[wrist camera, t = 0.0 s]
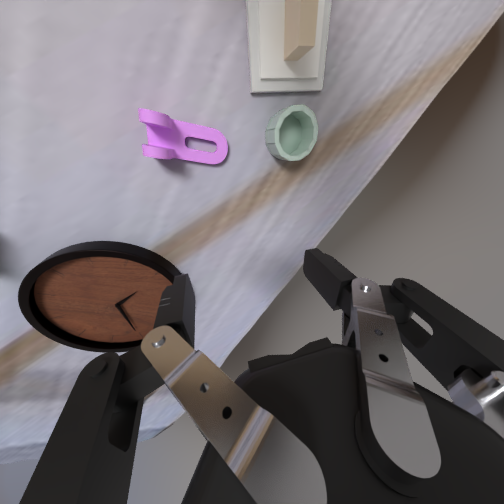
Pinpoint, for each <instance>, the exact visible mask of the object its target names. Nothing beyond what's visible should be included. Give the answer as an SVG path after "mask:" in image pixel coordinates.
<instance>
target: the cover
mask: <svg viewBox="0 0 504 504" xmlns="http://www.w3.org/2000/svg"><path fill="white" fill-rule="evenodd" d="M324 4H325V0H258V25H259V57H260V79H314V78H317V77H318V69H319V58H320V47H321V36H322V26H323V15H324Z"/></svg>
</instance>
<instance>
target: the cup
mask: <svg viewBox="0 0 504 504" xmlns="http://www.w3.org/2000/svg"><path fill="white" fill-rule="evenodd" d="M317 134H318V123H317V120H316V117H315V114H314V112H313V111H312V110H310V109H309V108H308V107H307V106H305V105H292V106H289V107H287V108H285V109H282V110H280V111H279V112H277V113H276V114H275V115H274V116H273V117H271V119H270V121H269V123H268V125H267V128H266V131H265V139H266V146H267V148H268V150H269V152H270V153H271V155H273V156H275V157H276V158H278V159H281V160H287V161H296V160H301V159H303V158H304V157H305V156H306V155H308V154H309V153H310V152H311V150H312V148H313V146H314V145H315V143H316V140H317Z"/></svg>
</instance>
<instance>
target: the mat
mask: <svg viewBox="0 0 504 504" xmlns="http://www.w3.org/2000/svg"><path fill="white" fill-rule="evenodd" d="M245 2H246V20H247V39H248V57H249V76H250V93H274V92H310V91H321V90H322V88H323V79H324V69H325V60H326V51H327V41H328V32H329V22H330V13H331V3H332V0H325V4H324V15H323V26H322V36H321V47H320V58H319V69H318V77H317V78H314V79H260V57H259V25H258V0H245Z"/></svg>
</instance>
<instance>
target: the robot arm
mask: <svg viewBox="0 0 504 504" xmlns="http://www.w3.org/2000/svg"><path fill="white" fill-rule="evenodd" d="M303 270H304V274H305V276H306V277H307V279H308V280H309V281H310V282H311V283H312V285H313V286H314V287H315V288H316V289H317V291H318V292H319V293H320V294H321V296H322V297H323V298H324V299H325V300H326V302H327V303H328V304H329V305H330V306H331V308H332V309H333V310H338V309H342V310H343V313H342V345H340V344H332V343H331V342H330V340H329V339H328V338H324V339H320V340H317V341H314V342H310V343H308V344H307V345H305V346H304V347H302V348H301V349H299V350H298V351H296V352H295V353H293V354H290V355H268V356H264V357H261V358H258V359H254V360H251V361H248V365H249V369H247V370H246V371H244V372H243V373H242V374H241V375H240V376H239V377H238V378H237V379H236V380H235V382H233V381H232V380H231V379H230V378H229V377H228V376H227V375H226V374H225V373H224V372H223V371H222V370H221V369H220V368H219V367H217V366H216V365H215V364H214V363H213V362H212V361H211V360H210V359H209V358H208V357H207V356H206V355H205V354H204V353H203V352H201V351H200V350H197V351H196V350H194V335H195V295H194V291H193V288H192V285H191V282H190V278H189V276H188V274H183V275H178V276H175V277H174V282H173V285H170V286H167V287H166V288H165V290H164V291H163V292H162V295H161V299H160V303H159V307H158V311H157V315H156V319H155V323H154V327H153V330H151V331H150V332H149V333H148V334H147V335H146V336H145V337H144V339H143V341H142V343H141V345H139V346H137V347H136V348H134V349H132V350H130V351H128V352H126V353H124V354H122V355H121V356H119V355H118V354H117V353H114V352H108V353H104V354H102V355H100V356H98V357H96V358H95V359H93V360H92V361H91V362H89V363H88V364H87V365H86V366H85V367H84V369H83V370H82V371H81V373H80V374H79V376H78V378H77V380H76V383H75V385H74V387H73V389H72V391H71V393H70V395H69V398H68V400H67V402H66V404H65V406H64V408H63V411H62V413H61V415H60V417H59V419H58V421H57V423H56V426H55V428H54V430H53V432H52V434H51V436H50V438H49V441H48V443H47V445H46V447H45V449H44V451H43V454H42V456H41V458H40V460H39V462H38V464H37V466H36V469H35V471H34V473H33V475H32V477H31V480H30V482H29V484H28V486H27V488H26V490H25V492H24V495H23V497H22V499H21V501H20V503H19V504H127V499H128V493H129V487H130V480H131V475H132V469H133V462H134V456H135V450H136V443H137V438H138V432H139V426H140V420H141V414H142V407H143V401H144V397H145V396H146V395H148V394H150V393H151V392H153V391H154V390H156V389H157V388H159V387H160V386H162V385H163V384H165V385H166V386H167V387H168V389H169V390H170V391H171V393H172V394H173V395H174V397H175V398H176V399H177V401H178V402H179V404H180V405H181V406H182V408H183V409H184V410H185V412H186V413H187V414H188V416H189V417H190V419H191V420H192V421H193V423H194V424H195V425H196V427H197V428H198V429H199V431H200V432H201V434H202V435H203V436H204V437H205V439H206V440H207V443H206V446H205V448H204V451H203V453H202V455H201V458H200V460H199V463H198V465H197V467H196V470H195V472H194V474H193V477H192V479H191V482H190V484H189V486H188V489H187V491H186V494H185V496H184V498H183V501H182V503H181V504H504V340H502V339H501V338H499V337H498V336H496V335H495V334H493V333H492V332H490V331H489V330H488V329H486V328H485V327H483V326H482V325H480V324H478V323H477V322H475V321H474V320H473V319H471V318H469V317H468V316H467V315H465V314H464V313H462V312H461V311H459V310H458V309H456V308H454V307H453V306H452V305H450V304H448V303H447V302H446V301H444V300H443V299H441V298H440V297H438V296H436V295H435V294H434V293H432V292H431V291H429V290H428V289H426V288H425V287H423V286H422V285H420V284H419V283H417V282H415V281H413V280H410V279H405V278H397V279H395V280H394V281H393V283H392V286H386V285H384V286H383V285H378V284H377V283H375V282H374V281H372V280H369V279H366V278H357V277H356V276H355V275H354V274H353V273H351V272H350V271H349V270H348V269H347V268H345V267H344V266H342V264H340V263H339V262H338V261H337V260H336V259H334V258H333V257H332V256H330V255H327V254H324V253H322V252H321V251H320V250H319V249H317V248H314V249H309V250H306V251H305V256H304V266H303ZM414 312H415V313H416V314H417V315H418V316H420V317H421V318H422V319H423V320H424V321H426V322H427V323H428V324H429V325H430V326H431V328H432V329H433V335H432V336H431V335H430V334H429V333H428V332H427V331H426V330H425V329H423V328H422V327H421V326H420V325H419V324H418V323H416V322H415V321H414V320H413V319H412V318H411V316H412V314H413V313H414ZM402 344H403V345H404V346H405V347H406V348H407V349H408V350H409V351H410V352H411V353H412V354H413V355H414V356H415V357H416V358H417V359H418V360H419V362H420V363H422V365H423V366H424V367H425V368H426V369H427V370H428V371H429V372H430V373H431V374H432V375H433V376H434V377H435V378H436V379H437V380H438V381H439V382H440V383H441V384H442V386H444V388H446V390H447V391H448V393H449V395H450V397H451V399H452V400H453V402H452V403H451V402H450V401H448V400H446V399H444V398H442V397H440V396H439V395H437V394H435V393H433V392H431V391H430V390H428V389H426V388H424V387H422V386H421V385H419V384H417V383H415V382H413V380H412V377H411V373H410V370H409V367H408V363H407V360H406V356H405V353H404V350H403V346H402Z"/></svg>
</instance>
